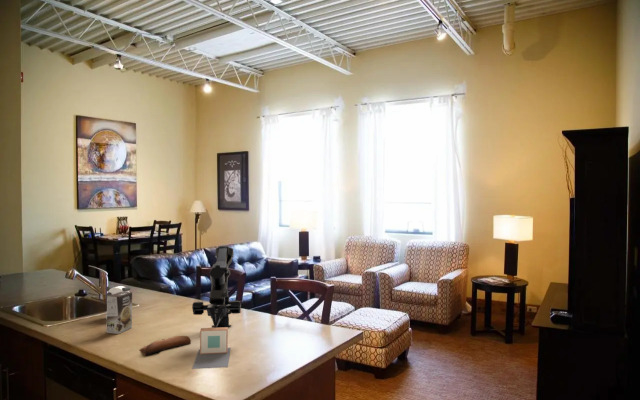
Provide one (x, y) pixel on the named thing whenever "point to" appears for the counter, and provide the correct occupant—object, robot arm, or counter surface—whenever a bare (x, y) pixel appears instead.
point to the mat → (211, 360)
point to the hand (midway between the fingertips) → (215, 327)
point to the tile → (214, 340)
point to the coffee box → (119, 312)
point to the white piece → (116, 290)
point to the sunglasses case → (165, 344)
